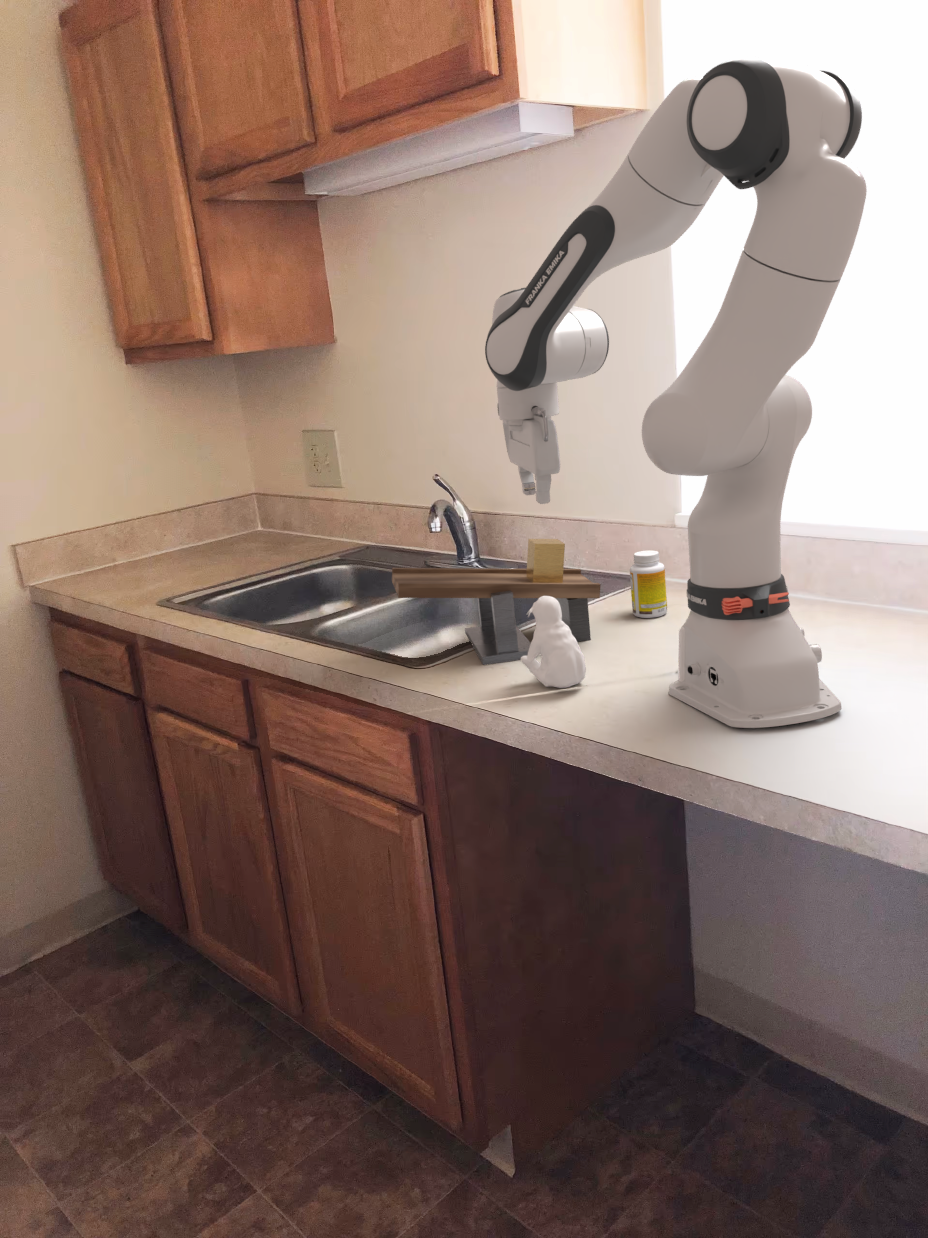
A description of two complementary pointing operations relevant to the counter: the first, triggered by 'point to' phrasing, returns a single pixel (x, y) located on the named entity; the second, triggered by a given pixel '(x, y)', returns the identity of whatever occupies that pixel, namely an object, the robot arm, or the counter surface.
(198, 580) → the counter surface
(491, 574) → the beam
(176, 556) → the counter surface
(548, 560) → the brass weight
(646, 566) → the supplement bottle
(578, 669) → the white seated figurine
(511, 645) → the trestle
